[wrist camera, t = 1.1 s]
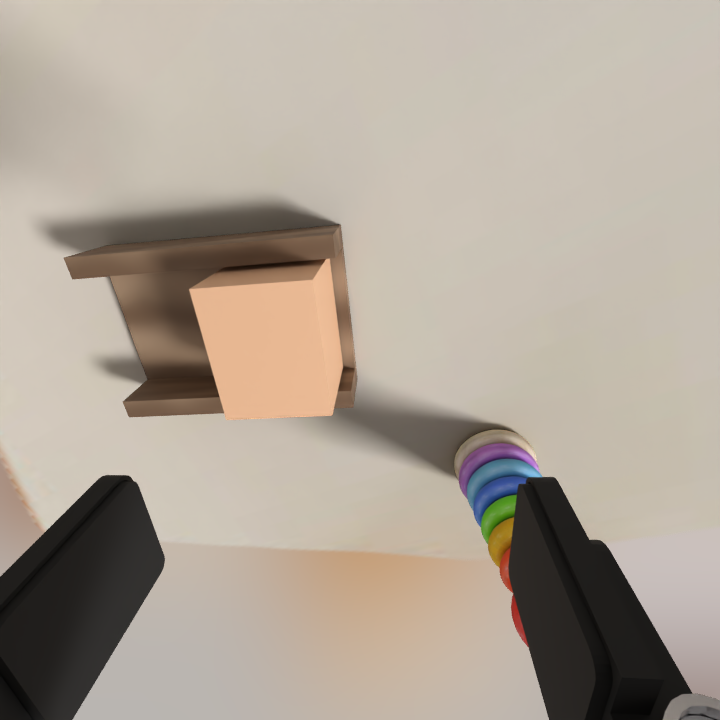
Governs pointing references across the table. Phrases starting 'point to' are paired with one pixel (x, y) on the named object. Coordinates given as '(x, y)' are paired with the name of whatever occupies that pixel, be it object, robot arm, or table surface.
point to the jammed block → (272, 338)
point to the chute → (177, 314)
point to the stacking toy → (496, 491)
